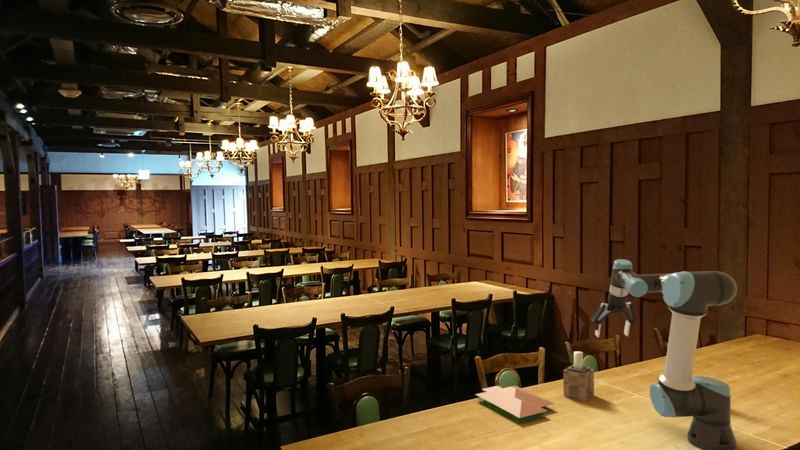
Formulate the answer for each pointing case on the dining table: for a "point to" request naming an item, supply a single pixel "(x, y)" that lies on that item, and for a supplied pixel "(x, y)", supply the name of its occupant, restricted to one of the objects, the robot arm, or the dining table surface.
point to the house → (514, 401)
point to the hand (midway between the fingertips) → (611, 335)
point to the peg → (578, 360)
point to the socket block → (578, 383)
